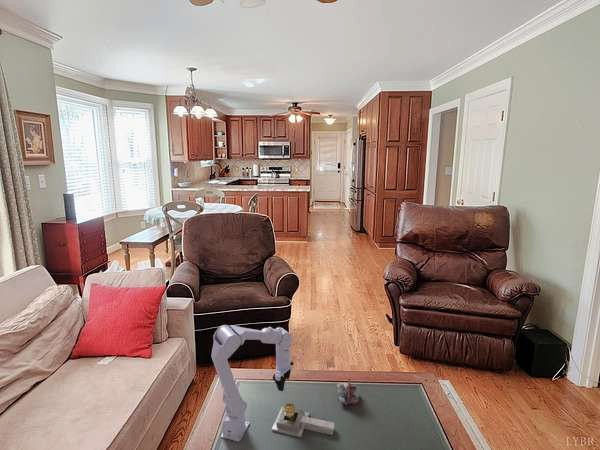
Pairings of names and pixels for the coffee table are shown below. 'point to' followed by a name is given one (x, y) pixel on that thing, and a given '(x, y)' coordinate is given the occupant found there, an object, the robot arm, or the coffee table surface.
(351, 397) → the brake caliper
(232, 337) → the robot arm
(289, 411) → the pin
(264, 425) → the coffee table surface
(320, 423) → the white stepped square fixture
